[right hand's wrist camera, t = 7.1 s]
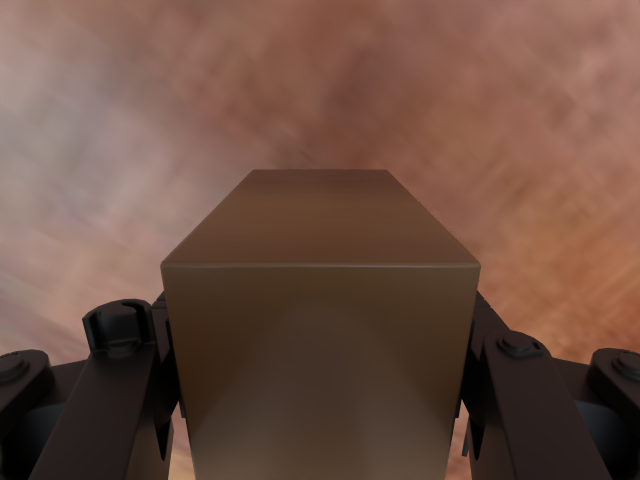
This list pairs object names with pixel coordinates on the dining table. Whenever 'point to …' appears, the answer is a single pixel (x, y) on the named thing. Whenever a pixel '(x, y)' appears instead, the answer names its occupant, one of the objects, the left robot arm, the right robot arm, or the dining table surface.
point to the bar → (320, 330)
